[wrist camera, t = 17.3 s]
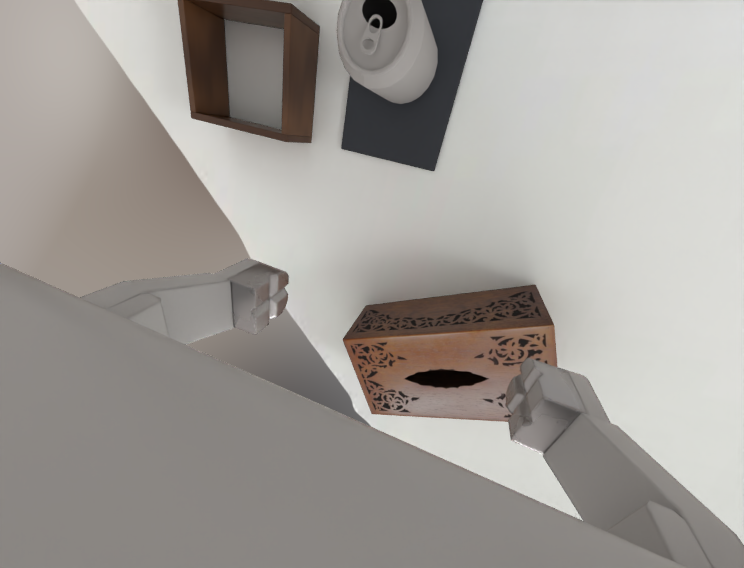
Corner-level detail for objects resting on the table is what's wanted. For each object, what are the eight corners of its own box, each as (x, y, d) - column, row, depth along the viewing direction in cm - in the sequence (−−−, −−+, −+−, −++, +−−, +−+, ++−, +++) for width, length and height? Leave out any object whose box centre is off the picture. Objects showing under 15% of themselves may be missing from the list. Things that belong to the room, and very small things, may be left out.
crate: (218, 10, 35) (175, -13, 30) (319, 26, 32) (291, 3, 27) (225, 122, 41) (191, 118, 36) (311, 143, 39) (286, 142, 34)
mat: (369, -66, 28) (367, -69, 28) (498, -56, 25) (499, -59, 25) (342, 148, 38) (341, 148, 37) (434, 171, 35) (433, 171, 35)
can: (451, 36, 29) (439, -26, 19) (421, 114, 33) (397, 99, 22) (387, 12, 30) (342, -60, 19) (365, 91, 34) (318, 66, 23)
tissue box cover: (388, 370, 52) (371, 414, 44) (365, 305, 48) (342, 339, 39) (543, 368, 42) (561, 424, 33) (535, 284, 37) (554, 324, 29)
